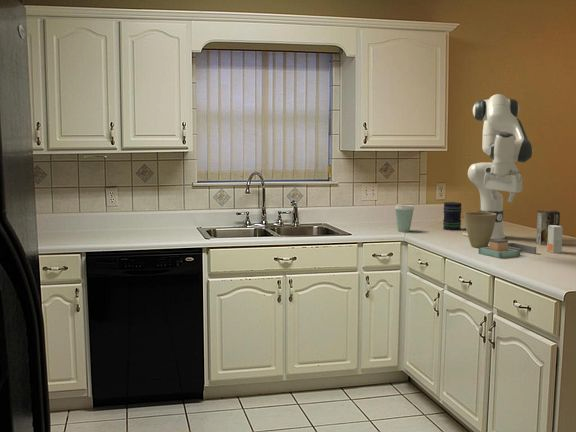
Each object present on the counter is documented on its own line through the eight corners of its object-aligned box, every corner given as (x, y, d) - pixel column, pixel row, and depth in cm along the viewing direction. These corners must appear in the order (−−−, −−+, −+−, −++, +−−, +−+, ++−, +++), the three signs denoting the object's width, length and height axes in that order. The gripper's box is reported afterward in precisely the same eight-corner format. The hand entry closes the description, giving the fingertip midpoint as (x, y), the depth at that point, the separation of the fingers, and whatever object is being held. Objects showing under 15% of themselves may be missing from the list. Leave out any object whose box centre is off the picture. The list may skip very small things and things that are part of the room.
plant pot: (486, 243, 328) (488, 211, 326) (500, 248, 313) (502, 215, 311) (457, 244, 326) (458, 211, 324) (470, 249, 311) (471, 215, 309)
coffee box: (554, 242, 331) (555, 210, 329) (559, 244, 325) (560, 211, 323) (535, 242, 331) (537, 210, 329) (540, 244, 325) (541, 211, 323)
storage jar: (443, 230, 375) (444, 203, 373) (442, 227, 384) (443, 202, 382) (461, 230, 373) (462, 204, 371) (460, 228, 382) (461, 202, 381)
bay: (494, 250, 308) (494, 244, 308) (511, 248, 313) (511, 242, 313) (518, 255, 295) (518, 248, 295) (536, 253, 300) (536, 247, 300)
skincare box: (546, 250, 308) (547, 225, 306) (555, 250, 308) (556, 225, 307) (552, 253, 302) (554, 226, 300) (561, 253, 302) (563, 226, 301)
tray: (478, 253, 300) (478, 248, 300) (496, 251, 305) (496, 246, 305) (499, 258, 289) (500, 252, 288) (518, 256, 294) (518, 250, 294)
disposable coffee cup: (404, 229, 378) (405, 203, 376) (418, 231, 369) (418, 204, 367) (390, 230, 372) (390, 204, 370) (403, 233, 363) (404, 205, 361)
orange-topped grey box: (488, 253, 298) (489, 239, 297) (499, 252, 301) (499, 238, 300) (497, 255, 293) (497, 241, 293) (507, 253, 296) (508, 240, 295)
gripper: (526, 171, 288) (525, 203, 290) (492, 168, 306) (490, 198, 308) (516, 171, 285) (514, 203, 287) (481, 168, 303) (480, 198, 305)
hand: (501, 200), depth 297 cm, fingers open, 8 cm apart
